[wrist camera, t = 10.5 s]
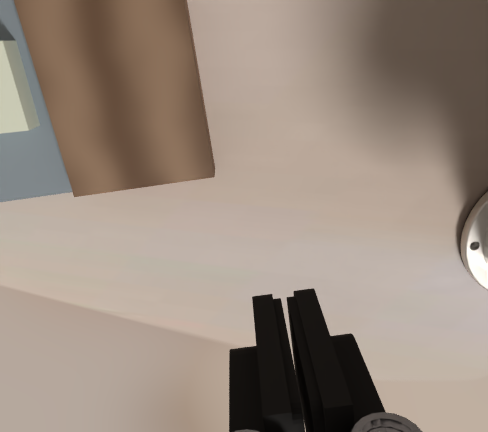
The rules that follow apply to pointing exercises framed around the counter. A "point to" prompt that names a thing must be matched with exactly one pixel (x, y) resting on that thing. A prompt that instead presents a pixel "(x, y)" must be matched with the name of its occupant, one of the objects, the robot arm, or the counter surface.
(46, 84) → the walnut deck
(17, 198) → the slate mat
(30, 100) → the sage tile
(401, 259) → the counter surface
